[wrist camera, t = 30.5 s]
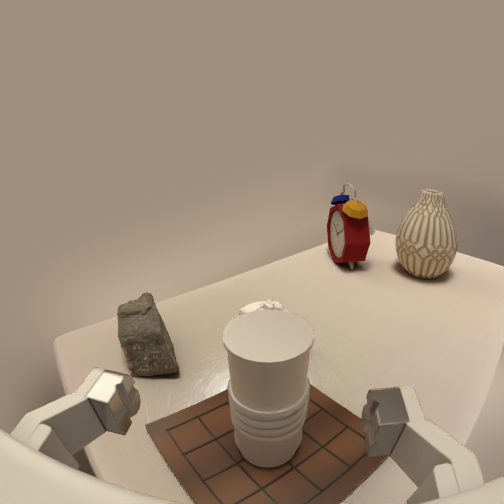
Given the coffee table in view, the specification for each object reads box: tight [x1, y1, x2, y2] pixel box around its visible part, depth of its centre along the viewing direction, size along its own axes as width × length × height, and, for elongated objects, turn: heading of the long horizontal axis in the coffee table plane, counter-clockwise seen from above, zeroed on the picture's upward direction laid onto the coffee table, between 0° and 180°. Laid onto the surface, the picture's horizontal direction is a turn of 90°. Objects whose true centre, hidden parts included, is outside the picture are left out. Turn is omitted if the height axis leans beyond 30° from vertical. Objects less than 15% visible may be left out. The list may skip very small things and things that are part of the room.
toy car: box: [239, 299, 288, 316], centre depth 48 cm, size 6×12×7 cm, turn 31°
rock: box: [117, 293, 179, 376], centre depth 44 cm, size 17×7×10 cm
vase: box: [396, 189, 457, 279], centre depth 65 cm, size 16×16×20 cm
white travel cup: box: [222, 310, 314, 468], centre depth 25 cm, size 7×7×15 cm
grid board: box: [145, 384, 389, 504], centre depth 28 cm, size 20×20×1 cm
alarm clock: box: [327, 183, 375, 270], centre depth 73 cm, size 15×9×20 cm, turn 4°
